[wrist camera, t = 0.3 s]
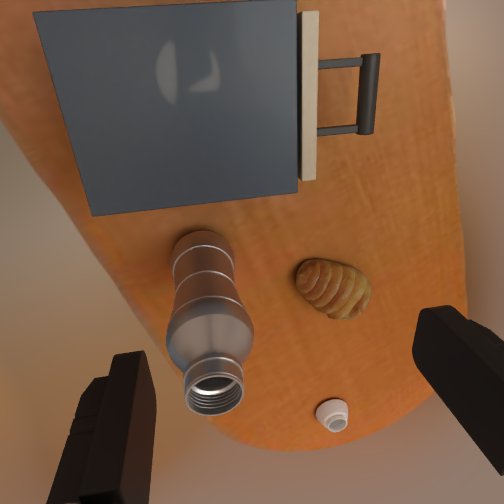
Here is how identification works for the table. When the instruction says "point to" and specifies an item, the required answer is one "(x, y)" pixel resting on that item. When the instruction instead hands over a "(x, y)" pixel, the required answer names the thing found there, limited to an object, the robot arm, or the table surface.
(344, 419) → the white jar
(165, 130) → the cabinet
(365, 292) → the pastry
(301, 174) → the drawer
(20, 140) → the table surface
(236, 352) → the metallic bottle
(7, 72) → the table surface
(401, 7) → the table surface
